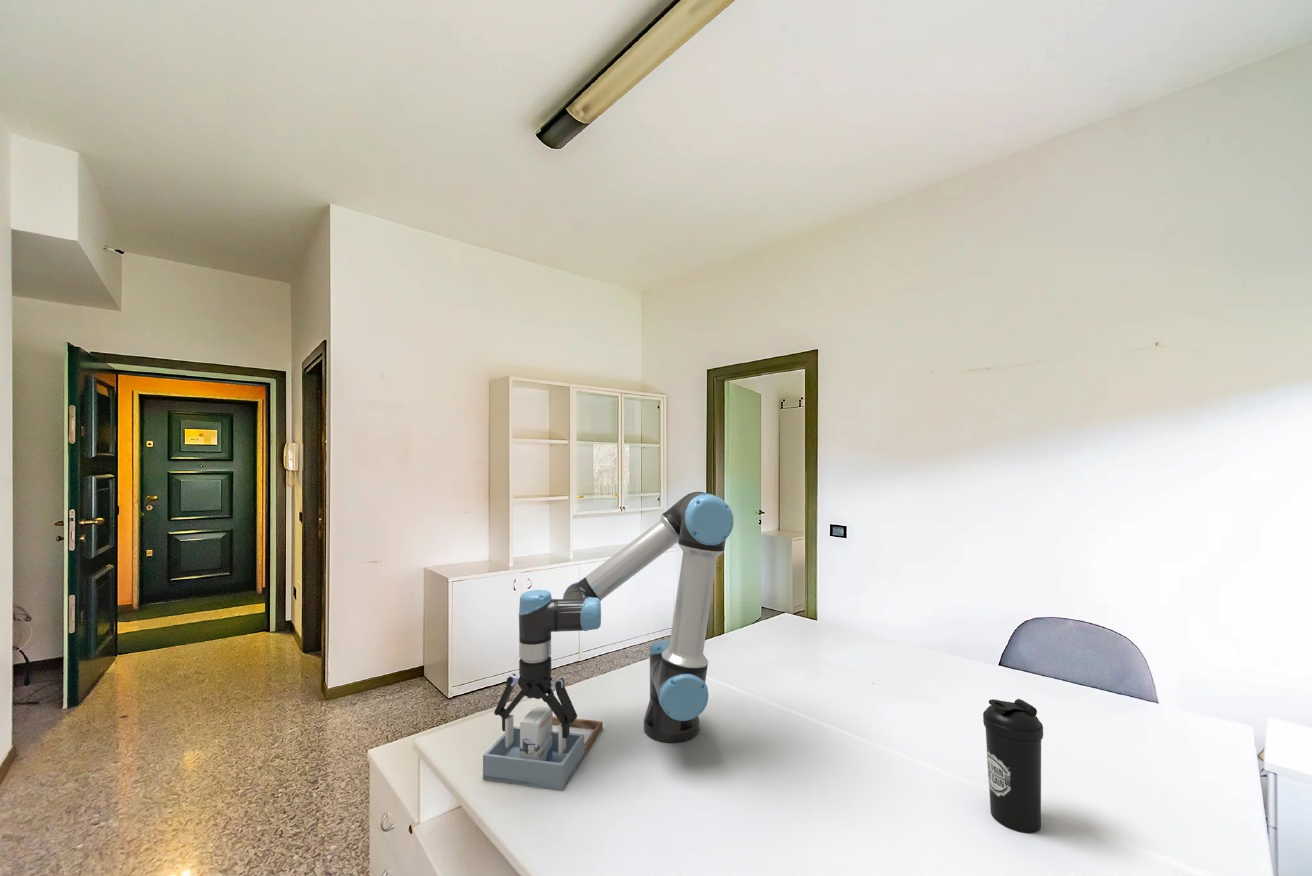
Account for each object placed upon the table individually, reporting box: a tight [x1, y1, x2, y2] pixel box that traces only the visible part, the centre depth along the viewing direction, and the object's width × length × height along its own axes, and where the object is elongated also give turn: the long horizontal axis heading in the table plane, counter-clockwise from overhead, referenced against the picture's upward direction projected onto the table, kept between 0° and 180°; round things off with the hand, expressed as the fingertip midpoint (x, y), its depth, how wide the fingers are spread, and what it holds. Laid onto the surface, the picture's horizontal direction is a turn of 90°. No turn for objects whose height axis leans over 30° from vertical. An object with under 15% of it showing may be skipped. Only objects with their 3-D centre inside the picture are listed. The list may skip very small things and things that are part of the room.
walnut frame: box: [552, 715, 604, 757], centre depth 142 cm, size 20×14×2 cm
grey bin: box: [482, 725, 586, 792], centre depth 128 cm, size 20×14×6 cm
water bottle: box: [982, 698, 1044, 834], centre depth 109 cm, size 10×10×23 cm
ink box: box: [519, 705, 554, 761], centre depth 128 cm, size 9×5×12 cm, turn 167°
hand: (535, 747), depth 128 cm, fingers open, 13 cm apart
